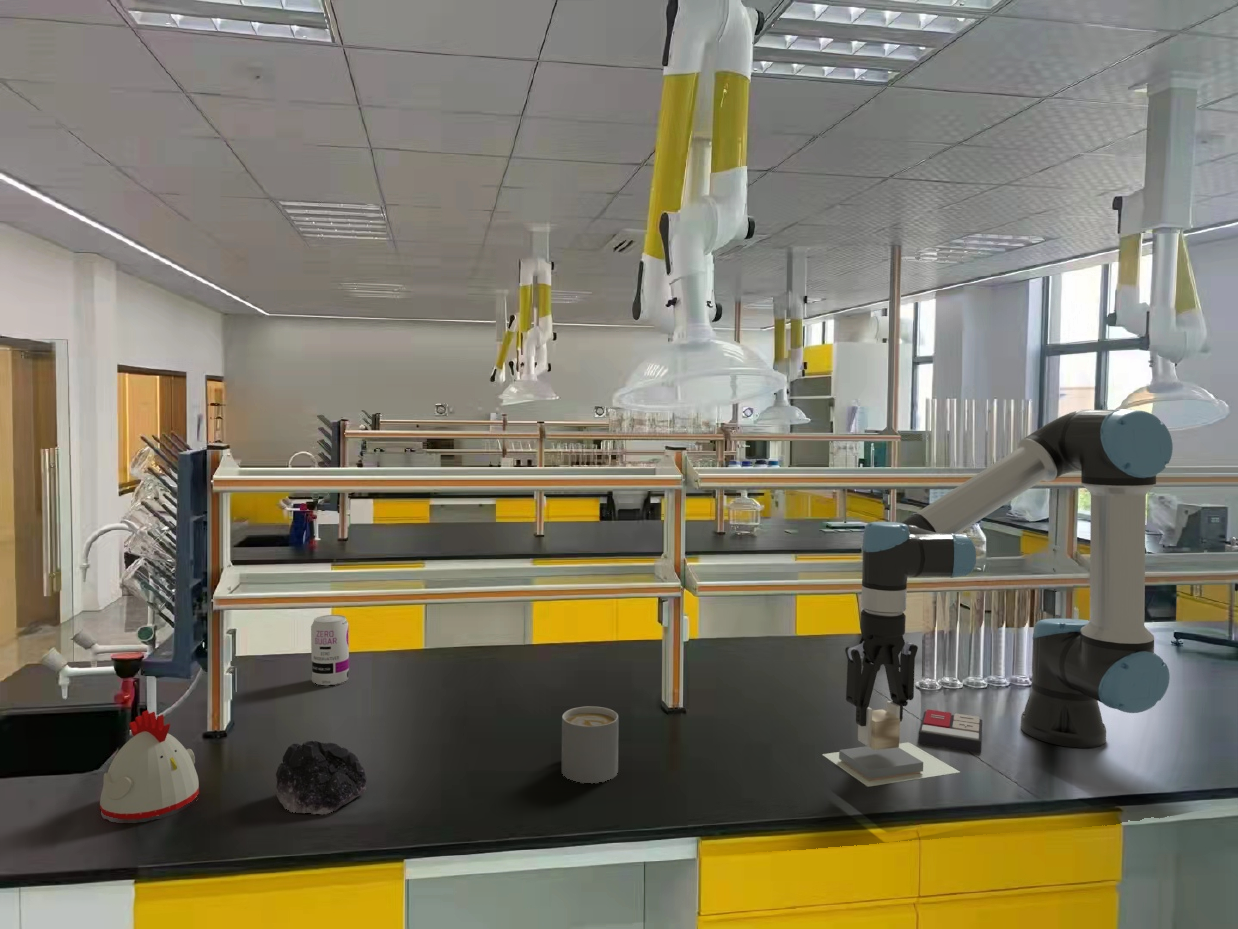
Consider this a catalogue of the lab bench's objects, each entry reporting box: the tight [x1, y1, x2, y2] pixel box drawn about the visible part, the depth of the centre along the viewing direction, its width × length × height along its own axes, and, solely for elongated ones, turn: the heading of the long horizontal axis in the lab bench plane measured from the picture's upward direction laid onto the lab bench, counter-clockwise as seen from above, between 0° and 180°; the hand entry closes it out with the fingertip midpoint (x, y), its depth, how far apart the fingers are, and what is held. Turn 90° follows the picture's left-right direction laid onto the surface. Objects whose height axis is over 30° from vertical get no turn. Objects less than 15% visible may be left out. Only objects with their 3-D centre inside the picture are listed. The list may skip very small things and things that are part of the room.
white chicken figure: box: [99, 709, 200, 819], centre depth 134 cm, size 14×14×15 cm
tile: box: [838, 745, 923, 781], centre depth 148 cm, size 2×9×11 cm
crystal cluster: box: [275, 739, 367, 815], centre depth 137 cm, size 13×14×10 cm
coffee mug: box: [561, 705, 619, 785], centre depth 150 cm, size 13×10×10 cm
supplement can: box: [310, 614, 350, 685], centre depth 196 cm, size 8×8×15 cm
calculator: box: [918, 709, 983, 753], centre depth 164 cm, size 11×4×15 cm
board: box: [821, 742, 961, 787], centre depth 150 cm, size 19×14×1 cm
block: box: [857, 709, 901, 750], centre depth 148 cm, size 5×5×5 cm
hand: (878, 741), depth 148 cm, fingers closed on block, 5 cm apart
